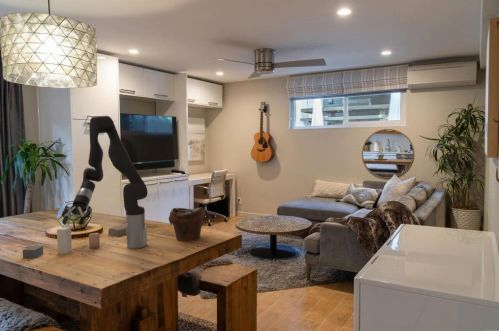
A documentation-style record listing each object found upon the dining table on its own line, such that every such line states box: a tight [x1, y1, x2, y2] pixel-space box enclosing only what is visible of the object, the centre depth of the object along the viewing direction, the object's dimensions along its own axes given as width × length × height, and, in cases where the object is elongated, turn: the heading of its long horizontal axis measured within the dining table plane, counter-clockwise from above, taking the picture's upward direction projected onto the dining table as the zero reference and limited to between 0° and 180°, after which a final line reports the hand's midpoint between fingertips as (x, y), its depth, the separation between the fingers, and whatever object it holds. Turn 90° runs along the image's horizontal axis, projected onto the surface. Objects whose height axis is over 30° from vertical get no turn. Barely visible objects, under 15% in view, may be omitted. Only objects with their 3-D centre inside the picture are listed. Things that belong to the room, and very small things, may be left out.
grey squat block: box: [22, 245, 44, 259], centre depth 170 cm, size 6×6×4 cm
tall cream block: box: [56, 226, 73, 255], centre depth 175 cm, size 4×4×12 cm
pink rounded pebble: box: [88, 232, 101, 250], centre depth 183 cm, size 5×5×7 cm
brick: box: [107, 222, 127, 238], centre depth 211 cm, size 17×8×5 cm, turn 155°
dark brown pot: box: [168, 206, 205, 242], centre depth 198 cm, size 18×20×18 cm
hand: (71, 224), depth 182 cm, fingers open, 8 cm apart
